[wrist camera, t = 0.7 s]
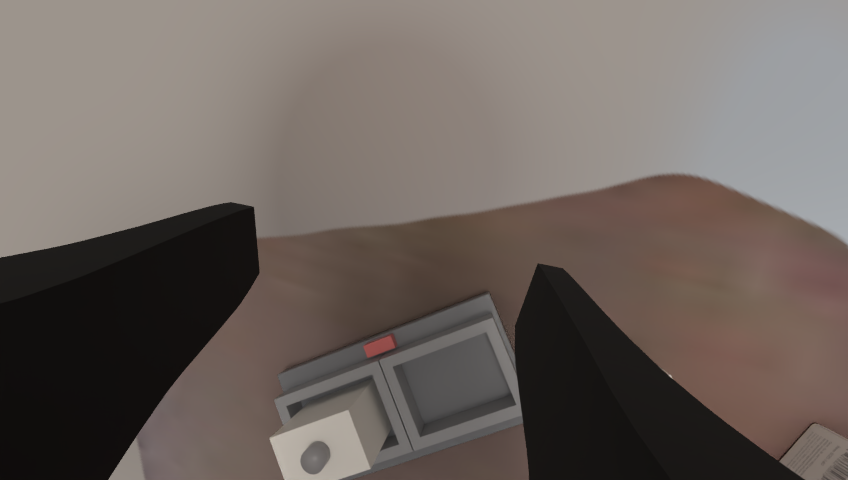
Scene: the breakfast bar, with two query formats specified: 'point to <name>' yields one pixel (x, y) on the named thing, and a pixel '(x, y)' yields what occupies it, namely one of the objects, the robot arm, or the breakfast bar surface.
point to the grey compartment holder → (398, 395)
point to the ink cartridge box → (819, 455)
